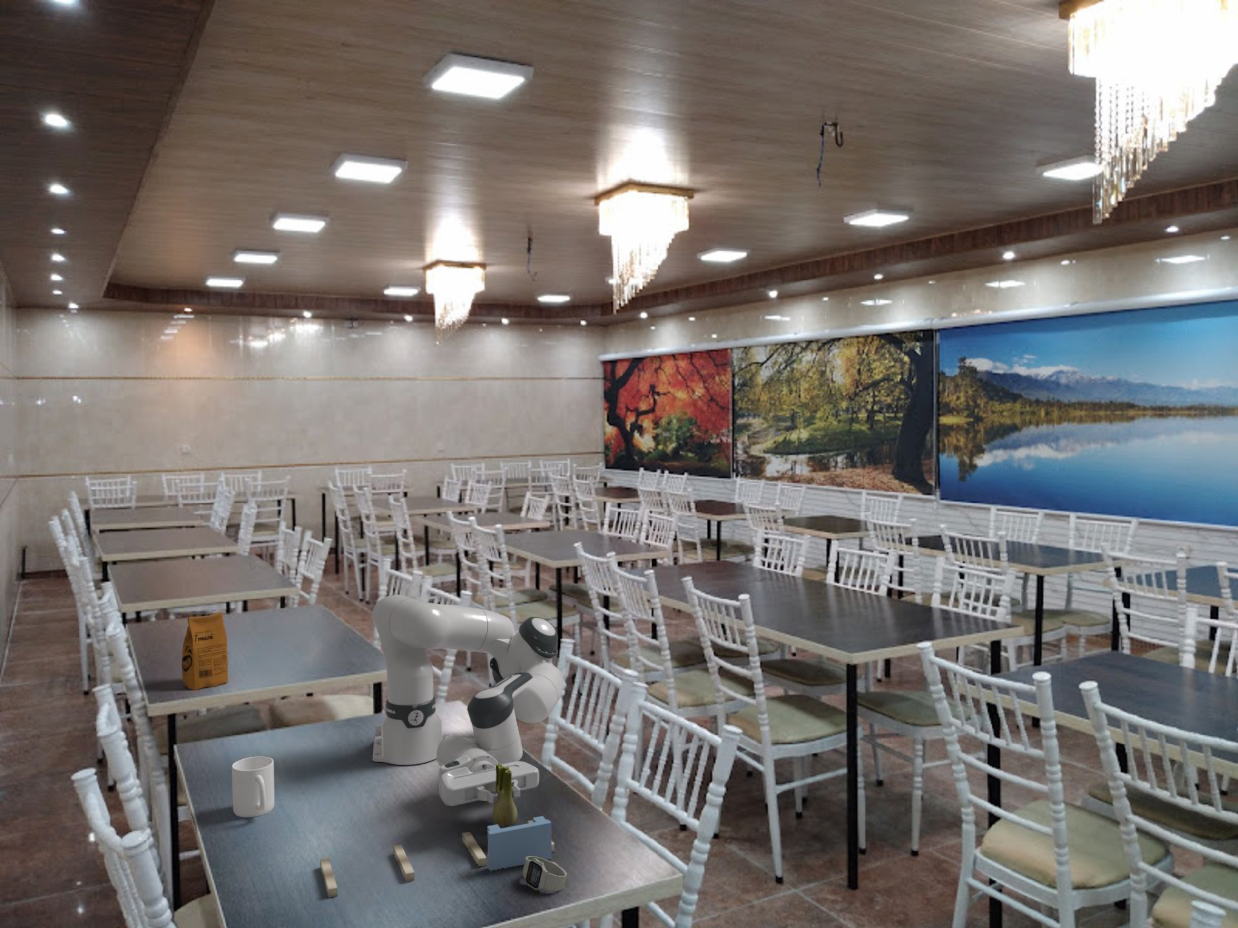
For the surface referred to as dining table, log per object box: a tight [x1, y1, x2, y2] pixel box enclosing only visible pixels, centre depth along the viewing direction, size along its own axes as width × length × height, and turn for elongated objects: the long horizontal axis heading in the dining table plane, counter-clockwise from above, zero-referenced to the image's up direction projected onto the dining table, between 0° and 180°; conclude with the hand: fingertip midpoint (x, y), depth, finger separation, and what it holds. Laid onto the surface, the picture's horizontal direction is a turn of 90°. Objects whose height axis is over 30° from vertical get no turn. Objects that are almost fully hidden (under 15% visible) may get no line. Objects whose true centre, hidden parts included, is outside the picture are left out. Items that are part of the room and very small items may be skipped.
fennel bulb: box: [492, 763, 519, 828], centre depth 188 cm, size 6×5×12 cm
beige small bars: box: [319, 819, 555, 898], centre depth 180 cm, size 12×42×2 cm, turn 114°
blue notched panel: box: [486, 815, 553, 872], centre depth 180 cm, size 4×12×7 cm, turn 114°
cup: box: [231, 755, 275, 818], centre depth 202 cm, size 8×12×10 cm
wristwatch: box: [522, 856, 568, 892], centre depth 172 cm, size 9×6×5 cm
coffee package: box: [181, 611, 229, 691], centre depth 296 cm, size 10×12×22 cm
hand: (505, 796), depth 187 cm, fingers closed on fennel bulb, 3 cm apart
